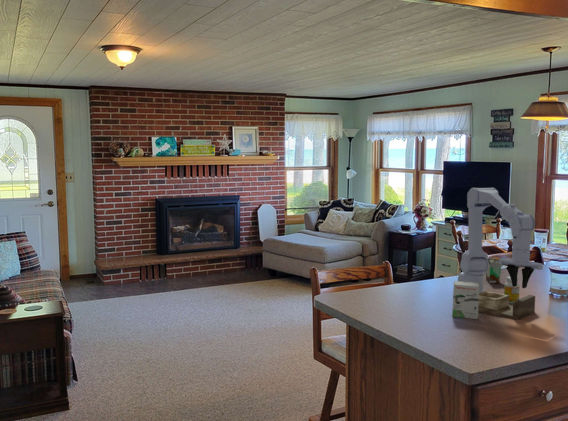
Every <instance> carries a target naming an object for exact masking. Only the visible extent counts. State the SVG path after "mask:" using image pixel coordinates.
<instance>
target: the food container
mask: <svg viewBox="0 0 568 421" xmlns="http://www.w3.org/2000/svg"><path fill="white" fill-rule="evenodd" d="M487 258H488V262H489V268H488V270H487V272H485V280H486V281H487V282H488V284H491V285H493V284H494V285H495V284H500V282H501V281H500V279H501V272H502V271H501V270H502V267H504V264H502V265H501V264H499V259H497V258H491V257H490V258H489V257H487Z"/></svg>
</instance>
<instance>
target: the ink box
mask: <svg viewBox="0 0 568 421" xmlns="http://www.w3.org/2000/svg"><path fill="white" fill-rule="evenodd" d="M452 293H453V294H452V311H451V312H452V317H453V318H462V319H463V318H464V319H474V320H479V319H478V318H479V312H478V304H479V284H478V283H472V282H460V281H458V280H456V281H453V292H452Z"/></svg>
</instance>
